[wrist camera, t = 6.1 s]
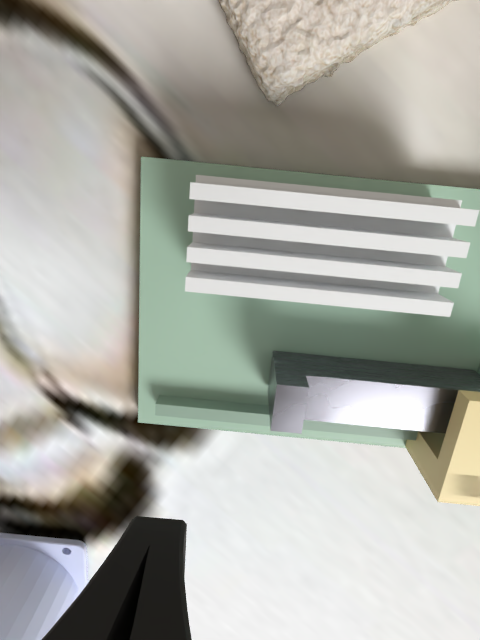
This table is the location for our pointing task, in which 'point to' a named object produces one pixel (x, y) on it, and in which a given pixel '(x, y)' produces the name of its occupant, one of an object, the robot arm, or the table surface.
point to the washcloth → (314, 35)
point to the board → (306, 297)
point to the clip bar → (362, 392)
